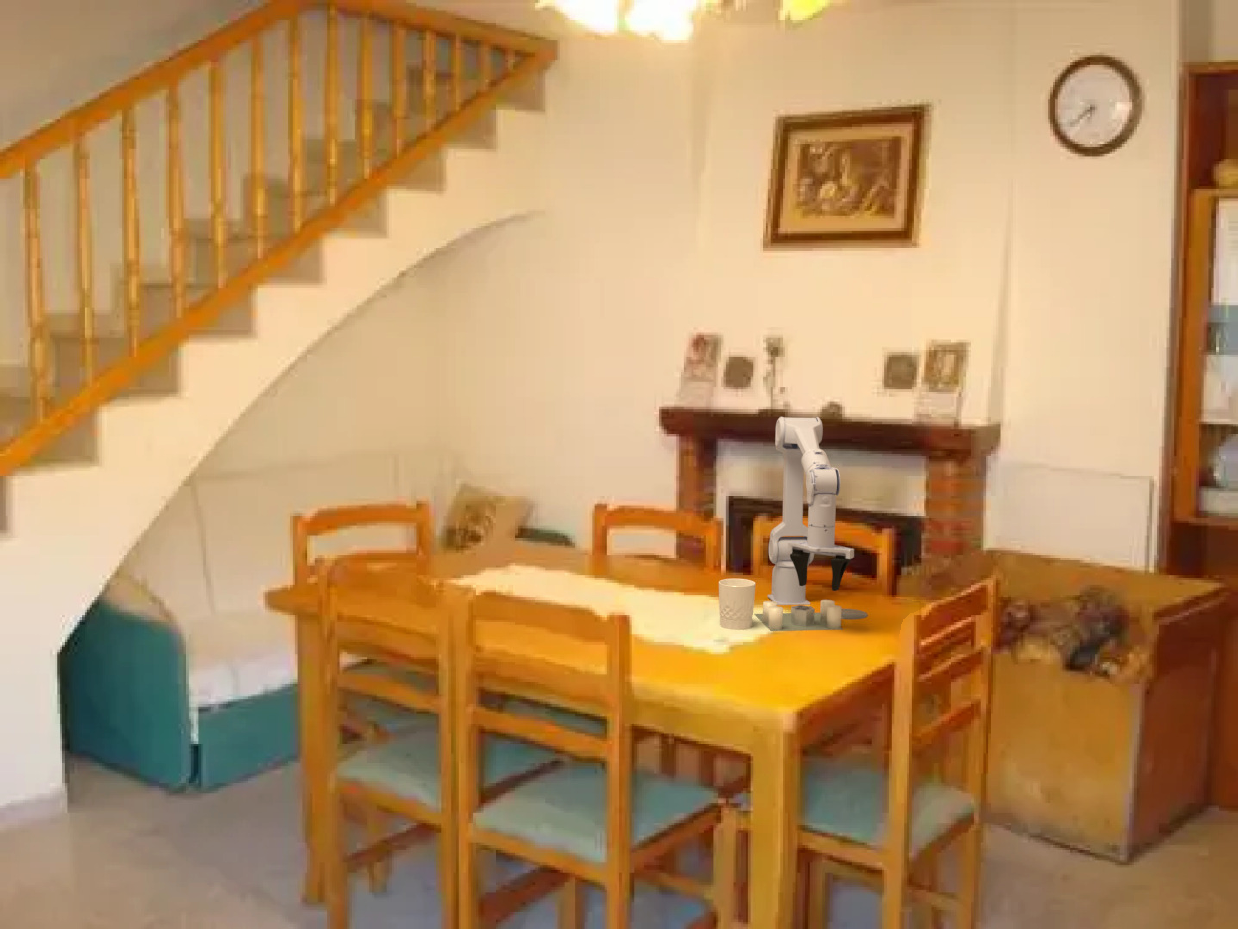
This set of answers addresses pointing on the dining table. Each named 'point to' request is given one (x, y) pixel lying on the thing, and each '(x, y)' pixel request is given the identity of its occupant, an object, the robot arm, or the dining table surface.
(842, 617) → the grey round coaster
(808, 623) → the faceted crystal gem
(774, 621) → the beige capsules
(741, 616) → the white cup
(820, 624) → the mat
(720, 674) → the dining table surface
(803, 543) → the robot arm
